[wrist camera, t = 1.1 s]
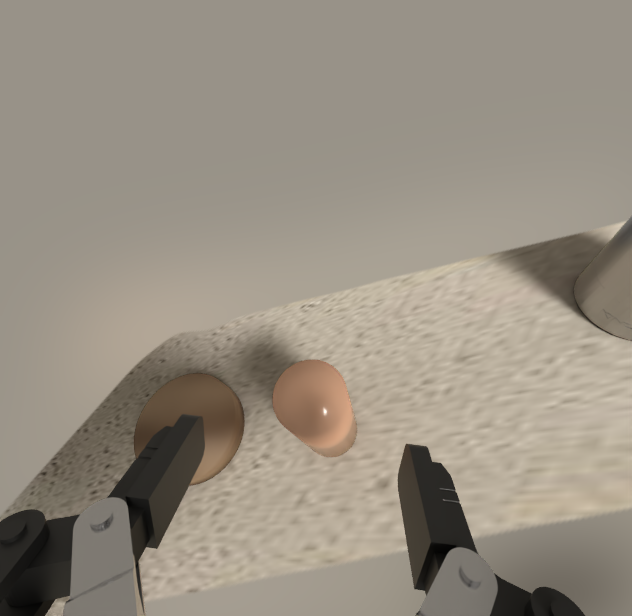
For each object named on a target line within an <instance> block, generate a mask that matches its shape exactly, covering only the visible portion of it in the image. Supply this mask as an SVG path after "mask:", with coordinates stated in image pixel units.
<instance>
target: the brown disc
mask: <svg viewBox="0 0 632 616" xmlns="http://www.w3.org/2000/svg"><path fill="white" fill-rule="evenodd" d="M182 414H187V415H195V416H202V417H203V423H204V438H205V450H204V455H203V458H202V461H201V463H200V465H199V467H198V469H197V471H196V473H195V475H194V477H193V479H192V481H191V483H190V485H196V484H200V483H202V482H205V481H207V480H209V479H211V478H213V477H214V476H215V475H217V474H218V473H220V472H221V471H222V470H223V469H224V468H225V467H226V466H227V465H228V463H229V462H230V461H231V459H232V458H233V457H234V455H235V453H236V451H237V450H238V447H239V445H240V443H241V440H242V436H243V431H244V412H243V407H242V405H241V402H240V400H239V398H238V397H237V395H236V394H235V393H234V392H233V391H232V390H231V389H230V388H229V387H228V386H226V385H225V384H224V383H222V382H221V381H220V380H218V379H217V378H215V377H213V376H210V375H207V374H202V373H193V374H187V375H183V376H180V377H178V378H175V379H173V380H171V381H170V382H168V383H167V384H165V385H164V386H163V387H161V388H160V389H159V390H158V391H157V392H156V393H155V394H154V395H153V396H152V397H151V398H150V400H149V401H148V403H147V404H146V405H145V407H144V409H143V411H142V412H141V415H140V417H139V419H138V422H137V425H136V429H135V435H134V450H135V456H136V458H138V456H139V454H140V453H141V452H142V450H143V449H145V446H146V445H147V443H148V442H149V441H150V439H151V438H152V437H153V435H154V434H156V433H157V432H159V431H160V430H161V429H163V428H164V427H165V426H170V427H173V426H174V425H175V423H176V422H177V420H178V419H179V417H180V416H181V415H182Z"/></svg>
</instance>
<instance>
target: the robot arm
mask: <svg viewBox="0 0 632 616" xmlns="http://www.w3.org/2000/svg"><path fill="white" fill-rule="evenodd" d="M574 294H575V299H576V301H577V304H578V306H579V308H580V309H581V310H582V312H583V313H584V314H585V315H586V316H587V317H588V318H589V319H590V320H591V321H592V322H593V323H594V324H596V325H597V326H599V327H600V328H602V329H603V330H605V331H607V332H609V333H611V334H613V335H615V336H618V337H621V338H624V339H627V340H632V217H630V219H629V220H628V221H627V222H626V223H625V224H624V225H623V227H622V228H621V229H620V230H619V231H618V232H617V233H616V235H615V236H614V237H613V238H612V239H611V240H610V241H609V243H608V244H607V245H606V246H605V247H604V248H603V249H602V250H601V251H600V253H599V254H598V255H597V256H596V257H595V258H594V260H593V261H592V262H591V263H590V264H589V265H588V266H587V268H586V269H585V270H584V271H583V272H582V273H581V274H580V276H579V277H578V279H577V281H576V283H575V287H574ZM204 450H205V438H204V423H203V417H202V416H195V415H187V414H182V415H181V416H180V417H179V419H178V420H177V422H176V423H175V425H174V426H173V427H170V426H165V427H164V428H163V429H161V430H160V431H159V432H157V433H156V434H154V435H153V437H152V438H151V439H150V441H149V442H148V443H147V445H146V446H145V449H143V450H142V452H141V453H140V454H139V456H138V458H136V460H135V461H134V462H133V464H132V465H131V466H130V468H129V469H128V471H127V472H126V473H125V475H124V476H123V477H122V479H121V480H120V481H119V483H118V484H117V485H116V487H115V488H114V490H113V491H112V492H111V494H110V495H109V496H108V497H107V498H105V499H102V500H99V501H97V502H95V503H94V504H92V505H90V506H89V507H88V508H86V509H85V510H84V511H83V512H82V513H81V514H79V515H75V516H70V517H64V518H58V519H53V520H47V521H46V519H45V516H44V514H43V513H42V512H40V511H38V510H24V511H21V512H18V513H15V514H13V515H11V516H9V517H7V518H5V519H3V520H2V521H1V522H0V616H45V615H46V613H47V612H48V610H49V609H50V607H51V605H52V604H53V602H54V601H55V599H57V598H62V597H66V596H70V599H69V600H68V601H67V602H66V603H65V606H64V612H63V616H146V613H145V605H144V596H143V588H142V580H141V571H140V563H139V559H140V557H141V555H142V553H143V552H144V550H145V548H146V547H149V548H156V549H157V548H158V546H159V544H160V542H161V540H162V538H163V536H164V534H165V532H166V530H167V528H168V526H169V524H170V522H171V520H172V518H173V516H174V514H175V512H176V510H177V508H178V506H179V504H180V502H181V500H182V498H183V496H184V495H185V493H186V491H187V489H188V487H189V485H190V483H191V481H192V479H193V477H194V475H195V473H196V471H197V469H198V467H199V465H200V463H201V461H202V458H203V455H204ZM398 491H399V497H400V503H401V510H402V516H403V522H404V528H405V534H406V540H407V546H408V553H409V558H410V565H411V571H412V577H413V583H414V589H418V590H424V591H425V593H426V598H425V600H424V602H423V604H422V606H421V608H420V610H419V612H418V613H417V614H416V615H415V616H585V615H584V614H583V612H582V611H581V610H580V609H579V607H578V606H577V605H576V604H575V603H574V602H572V601H571V600H570V599H569V598H568V597H566V596H565V595H564V594H562V593H560V592H559V591H557V590H555V589H551V588H548V587H539V588H537V589H536V590H535V591H534V592H533V593H532V594H531V593H529V592H527V591H525V590H523V589H521V588H519V587H517V586H515V585H513V584H511V583H509V582H507V581H505V580H503V579H501V578H500V577H498V576H497V575H496V574H495V573H493V571H492V569H491V568H490V566H489V565H488V563H487V562H486V561H485V560H484V559H483V558H482V557H481V556H480V555H479V554H478V553H477V550H476V548H475V545H474V542H473V539H472V536H471V533H470V530H469V527H468V525H467V522H466V519H465V516H464V513H463V510H462V507H461V504H460V503H459V498H458V495H457V493H456V492H455V487H454V484H453V481H452V478H451V476H450V474H449V473H448V472H447V470H446V469H445V468H444V466H443V465H442V464H441V463H436V462H432V460H431V457H430V453H429V450H428V448H427V447H426V446H420V445H412V444H406V446H405V449H404V453H403V457H402V461H401V464H400V468H399V473H398Z"/></svg>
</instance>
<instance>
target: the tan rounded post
mask: <svg viewBox="0 0 632 616" xmlns="http://www.w3.org/2000/svg"><path fill="white" fill-rule="evenodd" d="M273 408H274V412H275V414H276V417H277V418H278V420H279V421H280V423H281V424H282V425H283V426H284V427H285V428H286V429H288V430H289V431H290V432H291V433H293V434H294V435H295V436H296V437H297V438H299V439H300V440H301V441H302V442H304V443H305V444H306V445H307V446H309V447H310V448H311V449H312V450H313V451H315V452H316V453H318V454H319V455H322V456H325V457H337V456H340V455H342V454H344V453H345V452H347V451H348V450H349V449H350V448H351V447H352V445H353V443H354V442H355V439H356V436H357V423H356V419H355V416H354V412H353V409H352V405H351V402H350V398H349V395H348V391H347V388H346V384H345V382H344V379H343V377H342V376H341V374H340V373H339V372H338V371H337V370H336V369H335V368H334V367H333V366H332V365H330V364H328V363H326V362H323V361H320V360H304V361H300V362H298V363H295V364H294V365H292V366H290V367H289V368H288V369H286V370H285V371H284V372H283V373H282V375H281V376H280V377H279V379H278V381H277V382H276V385H275V387H274V391H273Z"/></svg>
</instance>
